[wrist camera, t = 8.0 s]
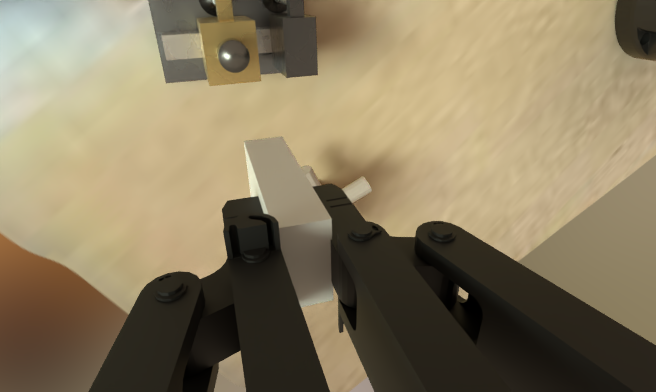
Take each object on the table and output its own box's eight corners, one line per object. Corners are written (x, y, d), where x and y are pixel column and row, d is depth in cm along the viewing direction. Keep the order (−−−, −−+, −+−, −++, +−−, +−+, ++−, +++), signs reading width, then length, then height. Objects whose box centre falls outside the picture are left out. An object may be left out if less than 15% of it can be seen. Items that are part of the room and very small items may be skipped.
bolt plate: (294, -29, 34) (325, -32, 27) (299, 67, 38) (328, 87, 31) (143, -26, 31) (133, -29, 24) (166, 79, 35) (163, 104, 28)
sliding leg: (238, -10, 32) (255, -8, 25) (247, 65, 34) (264, 85, 28) (191, -8, 31) (195, -6, 24) (204, 68, 33) (211, 90, 27)
